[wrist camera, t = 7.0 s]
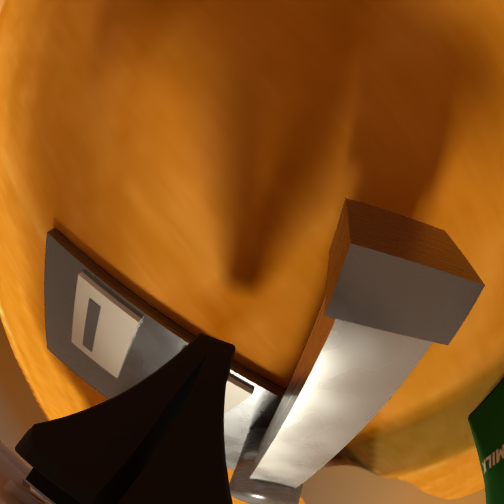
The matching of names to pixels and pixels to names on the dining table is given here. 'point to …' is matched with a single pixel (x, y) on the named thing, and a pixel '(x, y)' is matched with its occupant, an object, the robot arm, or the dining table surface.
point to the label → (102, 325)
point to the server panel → (138, 343)
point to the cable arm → (358, 345)
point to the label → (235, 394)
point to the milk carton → (491, 443)
